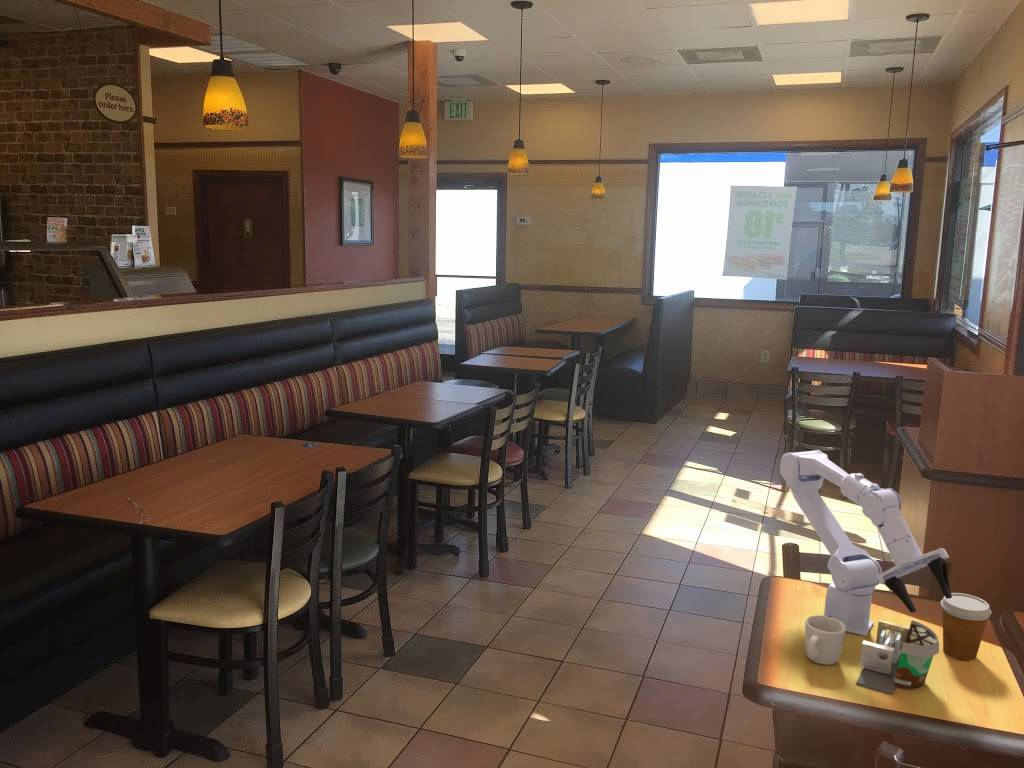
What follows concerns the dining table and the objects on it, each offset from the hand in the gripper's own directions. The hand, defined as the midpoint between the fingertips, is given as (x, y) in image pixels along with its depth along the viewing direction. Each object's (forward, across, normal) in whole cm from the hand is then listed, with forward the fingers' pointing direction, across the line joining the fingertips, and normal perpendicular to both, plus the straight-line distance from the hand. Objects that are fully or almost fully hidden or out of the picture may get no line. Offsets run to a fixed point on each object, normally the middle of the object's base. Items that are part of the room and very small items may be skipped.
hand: (931, 604), depth 173 cm
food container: (+12, -10, -1) cm, 16 cm away
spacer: (+2, -12, +5) cm, 13 cm away
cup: (+4, -24, -8) cm, 25 cm away
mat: (+8, -14, 0) cm, 16 cm away
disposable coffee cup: (+9, -4, +17) cm, 20 cm away
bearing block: (+6, -14, +4) cm, 16 cm away
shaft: (+6, -14, +1) cm, 16 cm away
